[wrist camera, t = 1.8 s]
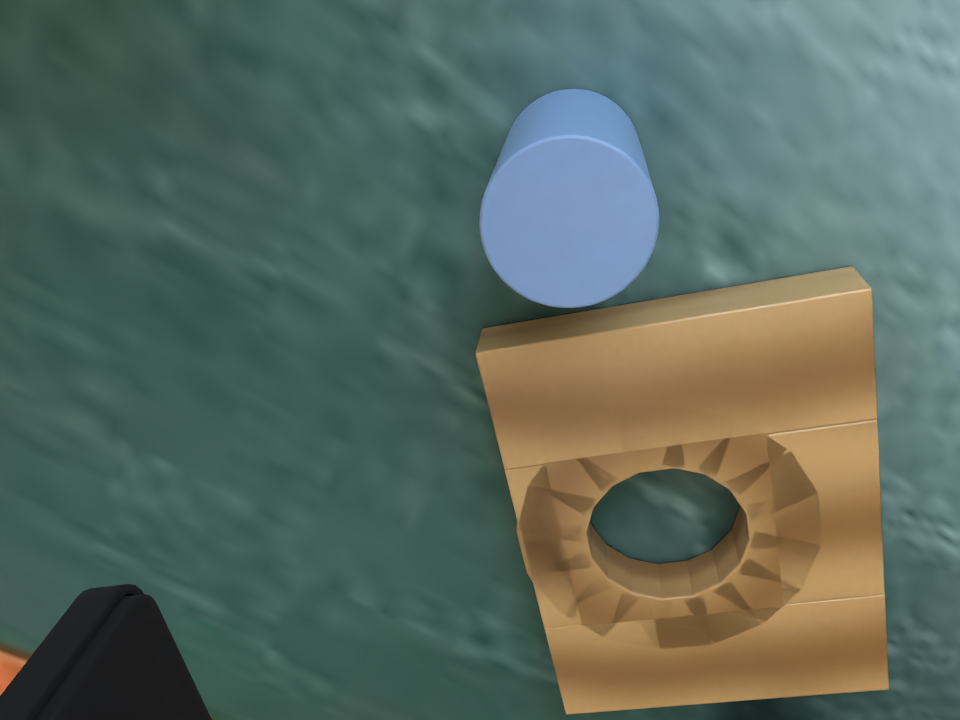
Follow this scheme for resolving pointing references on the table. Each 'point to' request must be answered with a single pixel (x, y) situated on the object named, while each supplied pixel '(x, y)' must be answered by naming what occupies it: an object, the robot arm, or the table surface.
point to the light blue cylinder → (570, 202)
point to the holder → (724, 458)
